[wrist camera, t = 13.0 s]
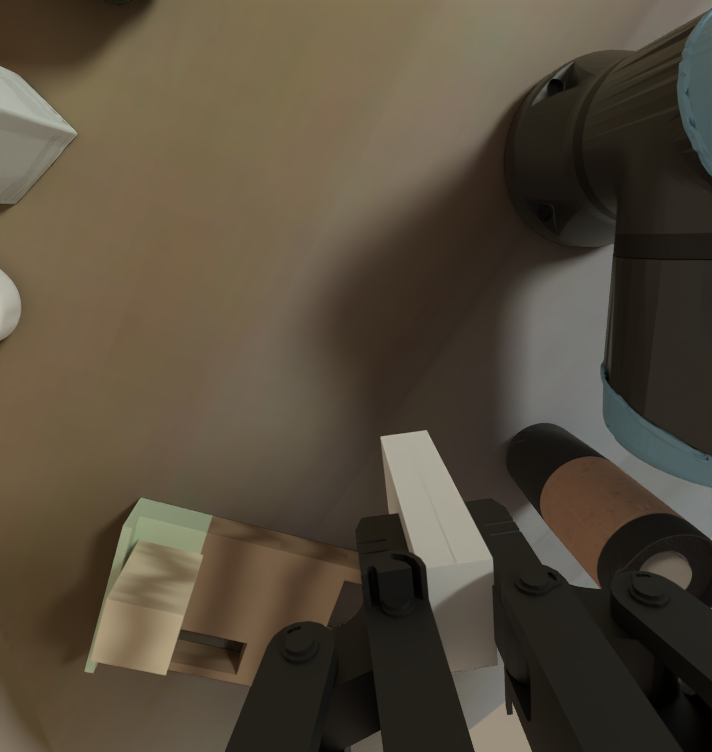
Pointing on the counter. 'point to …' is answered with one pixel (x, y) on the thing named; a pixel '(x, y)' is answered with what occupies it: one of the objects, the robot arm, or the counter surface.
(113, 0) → the squash
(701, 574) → the travel mug
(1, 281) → the teacup
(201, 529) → the pad
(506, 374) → the counter surface
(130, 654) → the maple block
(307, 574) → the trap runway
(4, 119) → the skincare box
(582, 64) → the robot arm
